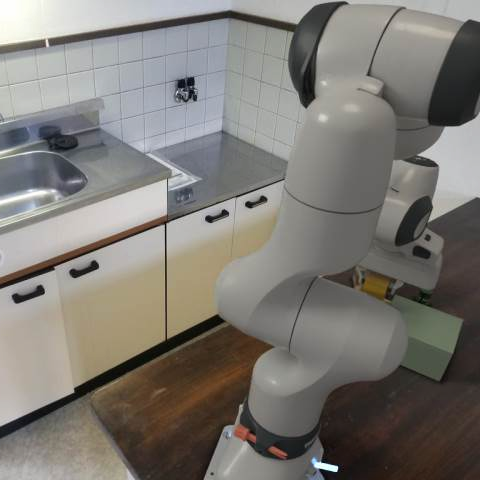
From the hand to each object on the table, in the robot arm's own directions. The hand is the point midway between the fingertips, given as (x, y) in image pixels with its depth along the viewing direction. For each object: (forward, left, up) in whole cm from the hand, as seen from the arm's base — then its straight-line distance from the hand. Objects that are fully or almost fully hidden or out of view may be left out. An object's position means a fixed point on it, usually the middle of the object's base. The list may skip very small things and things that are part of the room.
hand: (376, 287), depth 107 cm
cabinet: (0, -10, -12) cm, 16 cm away
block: (0, 0, -2) cm, 2 cm away
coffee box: (+14, +3, -12) cm, 19 cm away
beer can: (+17, -9, -12) cm, 23 cm away
